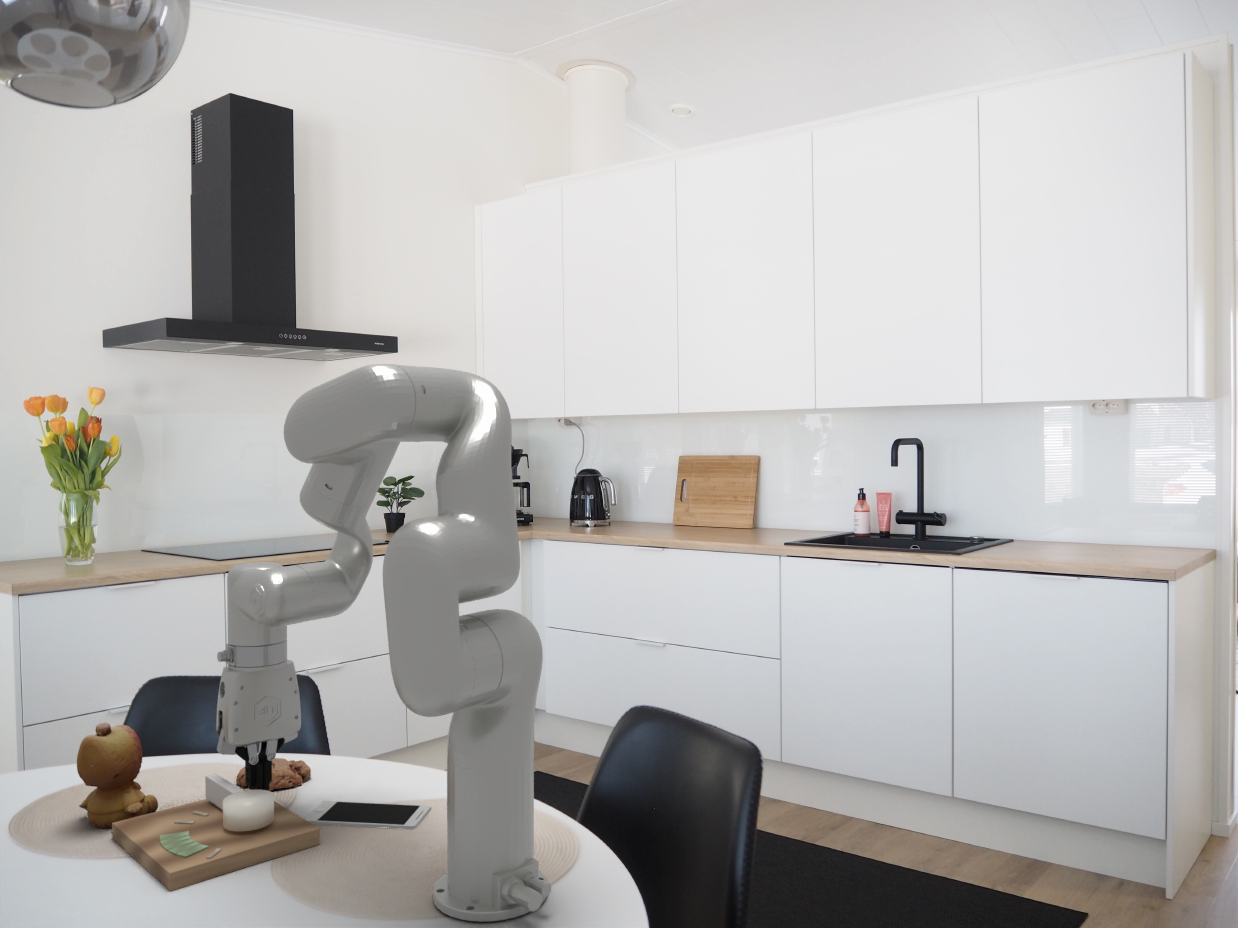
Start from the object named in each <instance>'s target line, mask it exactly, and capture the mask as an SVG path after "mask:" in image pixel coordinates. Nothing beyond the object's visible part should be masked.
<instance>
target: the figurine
mask: <svg viewBox="0 0 1238 928" xmlns="http://www.w3.org/2000/svg"><path fill="white" fill-rule="evenodd" d="M141 744H142V743H141V740H140V738H139V736H138V734H137V733H136V732H135V730H134V729H133V728H131V727H130V726H129V725H125V724H117V725H115V726H111V724H110V723H109V722H104V721H102V722H99V723H98V724H97V725H96V726H95V734H89V735H86V736H85V737H84V738H83V739H82V740H81V742H80V745H79V748H78V752H77V756H76V770H77V775H78V776H79V778H80V779H81V780H82V781H83V783H84V784H85V786H87V787H95V788H94V790H92V791H91V792H89V794H88V795H87V796H86V798H85V799H84V800H83V801H82V802H81V803H80V804H79V805H78V806H79V808H81V809H84V810H85V811H87V813H86V814H87V819H88V821H89V823H90V824H91V825H92V826H93V827H97V828H99V829H100V828H101V829H105V828H107V829H108V828H110V829H112V823H114V822H118V821H122V820H126V819H130V818H133V817H137V816H141V815H145V814H149V813H153V812H157V811H158V808H159V801H158V799H157V797H156V796H155V795H153V794H148V795H146V794H145V793H144V792H142V791H141V789H142V787H141V785H140V783H139V782H137V781H135V779H136V778H137V777H138V776H139V774H140V772H141V771H140V770H141V768H142V763H143V748H142V745H141Z"/></svg>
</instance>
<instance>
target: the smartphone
mask: <svg viewBox="0 0 1238 928" xmlns="http://www.w3.org/2000/svg"><path fill="white" fill-rule="evenodd" d="M430 811H432V806H431V805H427V804H426V805H425V804H424V805H423V804H422V805H421V804H401V803H400V804H399V803H379V802H377V803H376V802H362V801H361V802H359V801H358V802H357V801H342V800H341V801H340V800H339V801H337V800H324V801H322V802H321V803H320V804H318V805H317V807H315V808H314V809H313V810H312V811H311V812H310V813H308V814H307V815H306V816H305V817H303V819H305V820H307V821H308V822H310V823H312V824H313V825H315V826H334V825H336V826H335V827H338V826H337V825H342V826H341V827H354V826H357V827H358V828H374V827H387V828H386V829H395V828H403V829H402V830H415V829H414V828H416V829H417V827H418V826H419V825H420V824H419V823H420V822H421V823H422V821H423V820H424V819H425V818H426V817H427V816H428V814H429V813H430ZM418 824H419V825H418ZM357 827H356V828H357ZM388 827H389V828H388ZM404 828H406V829H404Z"/></svg>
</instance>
